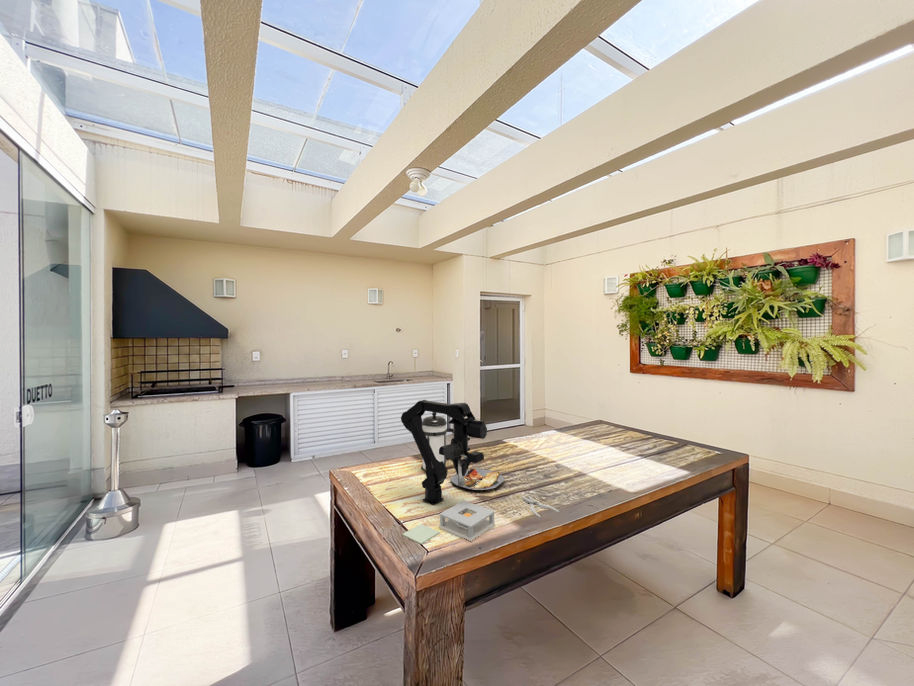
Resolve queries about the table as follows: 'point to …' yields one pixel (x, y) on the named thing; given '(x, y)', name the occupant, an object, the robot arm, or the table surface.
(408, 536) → the mat
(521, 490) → the table surface
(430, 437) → the coffee press
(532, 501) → the pliers
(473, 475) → the food plate
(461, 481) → the shiny metal cylinder
